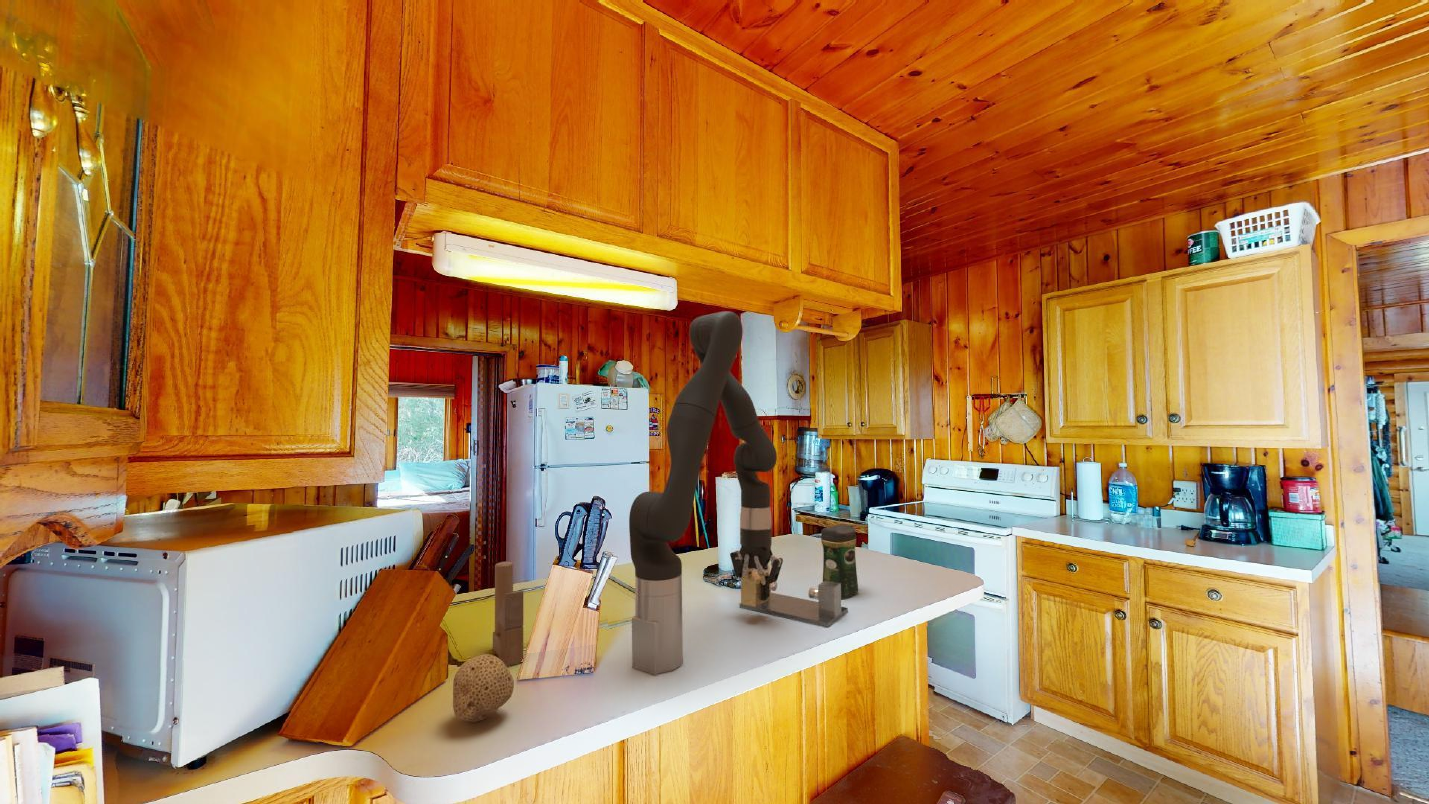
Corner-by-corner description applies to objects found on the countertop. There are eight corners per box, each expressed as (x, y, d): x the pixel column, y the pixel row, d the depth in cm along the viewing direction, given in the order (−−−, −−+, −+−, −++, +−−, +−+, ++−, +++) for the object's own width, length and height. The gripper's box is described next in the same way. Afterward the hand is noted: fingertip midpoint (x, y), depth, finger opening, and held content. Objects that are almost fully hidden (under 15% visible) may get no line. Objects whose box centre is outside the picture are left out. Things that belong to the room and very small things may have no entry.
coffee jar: (839, 587, 151) (837, 521, 151) (862, 593, 145) (861, 525, 145) (817, 594, 144) (815, 525, 145) (841, 601, 138) (839, 529, 139)
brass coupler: (770, 599, 128) (770, 573, 129) (755, 606, 123) (755, 580, 123) (756, 596, 131) (756, 571, 131) (741, 603, 125) (740, 577, 125)
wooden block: (504, 668, 103) (505, 574, 104) (492, 649, 112) (492, 562, 113) (524, 662, 105) (524, 571, 106) (510, 644, 114) (510, 560, 115)
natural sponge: (519, 702, 90) (519, 642, 90) (506, 732, 81) (506, 666, 82) (462, 707, 89) (462, 646, 89) (443, 738, 80) (443, 671, 80)
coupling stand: (827, 627, 121) (827, 592, 121) (739, 607, 135) (739, 575, 135) (847, 612, 131) (847, 579, 131) (763, 594, 145) (763, 565, 145)
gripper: (722, 524, 129) (722, 596, 128) (773, 531, 120) (774, 608, 119) (739, 520, 135) (739, 589, 134) (789, 526, 126) (790, 599, 125)
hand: (756, 597), depth 127 cm, fingers closed on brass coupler, 4 cm apart
